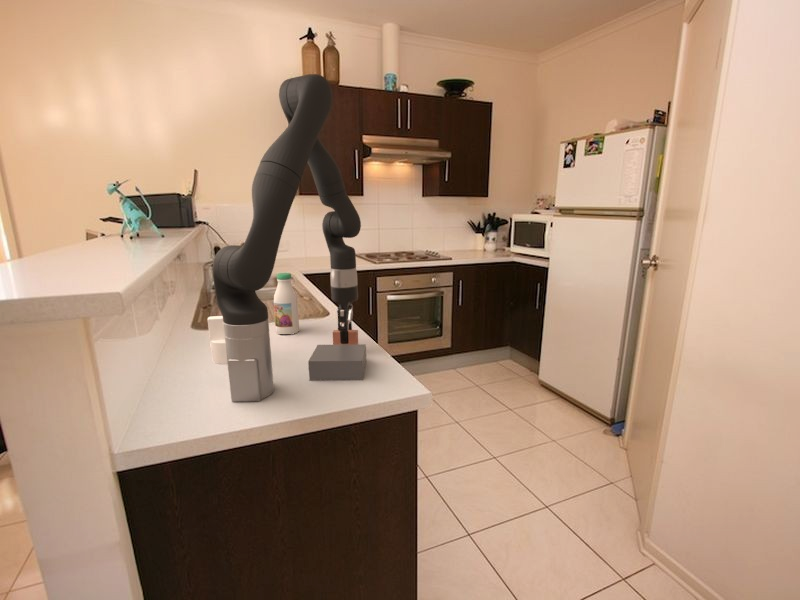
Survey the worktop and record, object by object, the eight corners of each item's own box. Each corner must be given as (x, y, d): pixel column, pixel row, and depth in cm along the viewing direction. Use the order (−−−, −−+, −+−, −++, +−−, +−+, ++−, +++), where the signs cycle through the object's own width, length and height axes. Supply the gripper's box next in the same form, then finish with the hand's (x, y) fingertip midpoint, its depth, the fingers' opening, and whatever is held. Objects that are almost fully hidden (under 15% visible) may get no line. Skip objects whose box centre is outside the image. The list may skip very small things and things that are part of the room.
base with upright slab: (209, 365, 108) (204, 322, 106) (214, 354, 117) (210, 314, 114) (245, 362, 111) (241, 319, 108) (247, 351, 119) (244, 311, 116)
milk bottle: (288, 327, 142) (284, 271, 138) (304, 330, 138) (300, 272, 134) (270, 333, 136) (266, 274, 131) (287, 337, 132) (283, 276, 128)
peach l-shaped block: (352, 377, 100) (352, 354, 99) (320, 377, 100) (319, 354, 98) (360, 349, 120) (359, 329, 118) (332, 349, 120) (332, 329, 118)
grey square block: (362, 380, 99) (362, 360, 98) (309, 380, 99) (308, 361, 98) (366, 360, 111) (366, 343, 110) (319, 361, 111) (318, 343, 110)
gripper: (355, 288, 107) (357, 346, 111) (359, 279, 121) (361, 330, 125) (326, 289, 107) (329, 347, 111) (334, 279, 121) (337, 331, 125)
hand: (346, 338), depth 118 cm, fingers open, 8 cm apart
